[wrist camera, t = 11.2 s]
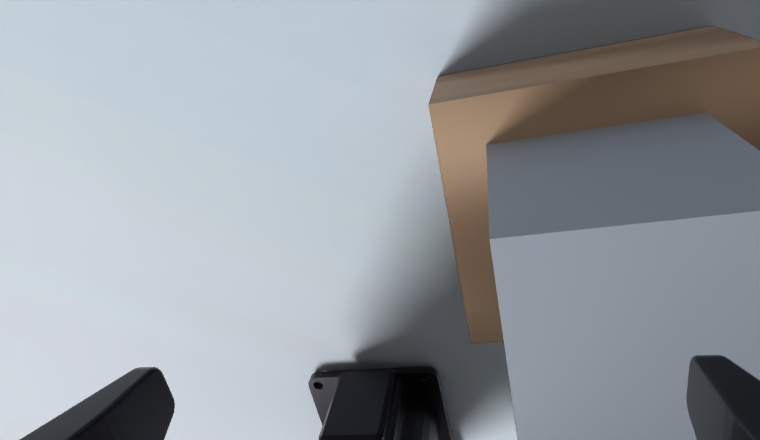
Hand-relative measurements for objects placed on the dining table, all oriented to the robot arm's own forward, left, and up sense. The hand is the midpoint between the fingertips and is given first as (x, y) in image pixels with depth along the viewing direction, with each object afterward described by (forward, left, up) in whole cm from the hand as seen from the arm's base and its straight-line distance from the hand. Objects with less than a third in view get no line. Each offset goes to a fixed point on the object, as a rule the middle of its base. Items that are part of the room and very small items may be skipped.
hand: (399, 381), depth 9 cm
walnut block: (-2, -5, -13) cm, 14 cm away
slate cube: (-2, -5, -9) cm, 10 cm away
